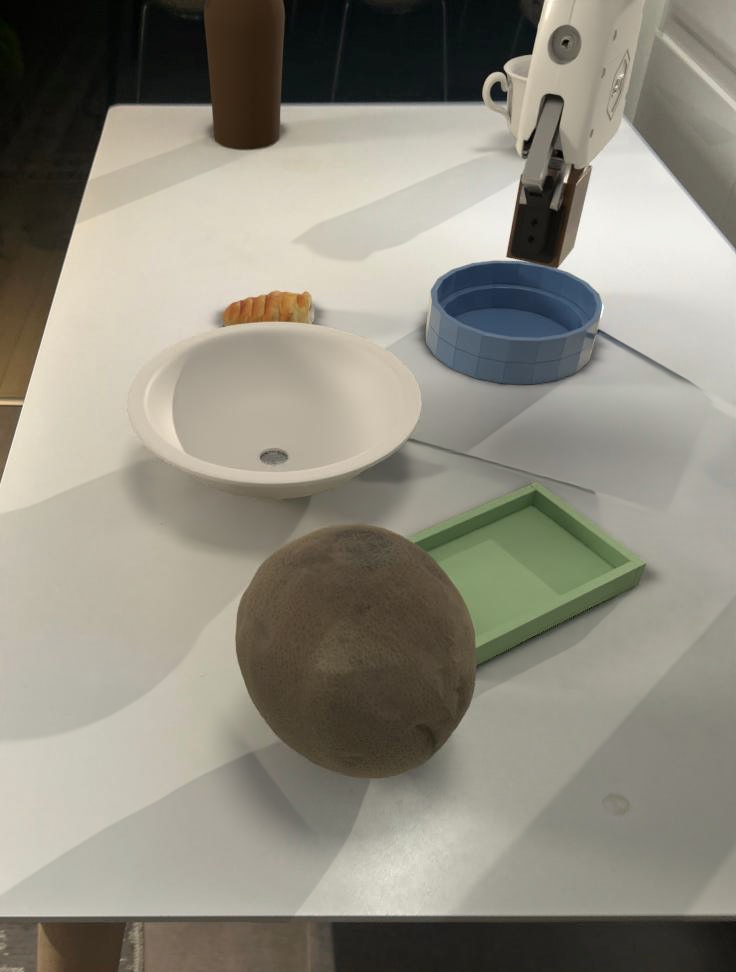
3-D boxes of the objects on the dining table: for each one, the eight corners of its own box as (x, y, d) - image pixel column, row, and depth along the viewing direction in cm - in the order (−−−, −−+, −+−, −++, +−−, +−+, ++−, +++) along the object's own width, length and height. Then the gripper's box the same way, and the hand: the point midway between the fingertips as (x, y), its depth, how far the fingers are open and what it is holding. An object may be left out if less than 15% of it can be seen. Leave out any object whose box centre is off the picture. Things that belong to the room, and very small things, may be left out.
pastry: (220, 345, 96) (218, 309, 93) (225, 313, 101) (224, 278, 98) (313, 347, 96) (314, 311, 93) (314, 314, 100) (315, 279, 98)
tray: (531, 502, 78) (536, 481, 76) (639, 583, 71) (646, 562, 70) (356, 579, 72) (357, 558, 70) (454, 677, 65) (459, 656, 63)
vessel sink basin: (105, 538, 76) (93, 470, 71) (165, 378, 92) (159, 314, 87) (409, 563, 73) (419, 494, 68) (416, 393, 89) (424, 328, 85)
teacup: (460, 138, 135) (470, 58, 128) (559, 130, 137) (575, 50, 130) (489, 170, 127) (502, 86, 120) (595, 160, 129) (614, 77, 121)
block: (523, 237, 74) (538, 156, 70) (573, 247, 73) (592, 165, 69) (505, 257, 72) (520, 174, 68) (557, 268, 70) (576, 184, 66)
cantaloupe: (448, 657, 66) (482, 482, 55) (466, 833, 56) (512, 662, 46) (246, 650, 67) (240, 476, 56) (229, 821, 57) (219, 651, 46)
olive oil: (250, 157, 131) (246, -66, 113) (194, 140, 136) (182, -76, 118) (299, 136, 136) (302, -80, 118) (244, 120, 141) (239, -90, 123)
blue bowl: (513, 292, 103) (522, 247, 99) (625, 358, 93) (639, 310, 90) (392, 333, 97) (397, 286, 94) (499, 407, 88) (508, 358, 84)
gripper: (626, -10, 52) (555, 304, 66) (695, -68, 62) (621, 215, 76) (496, -25, 55) (453, 280, 68) (582, -78, 65) (530, 197, 78)
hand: (542, 243), depth 72 cm, fingers closed on block, 4 cm apart
